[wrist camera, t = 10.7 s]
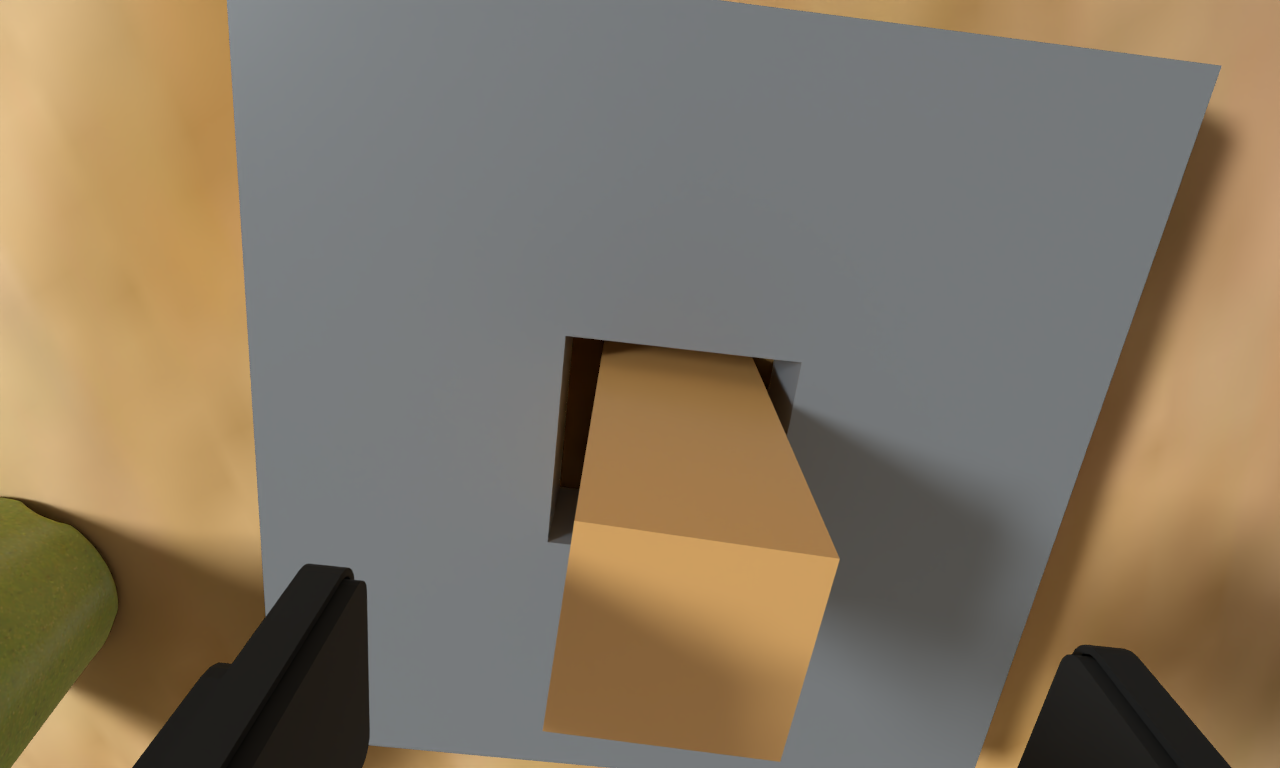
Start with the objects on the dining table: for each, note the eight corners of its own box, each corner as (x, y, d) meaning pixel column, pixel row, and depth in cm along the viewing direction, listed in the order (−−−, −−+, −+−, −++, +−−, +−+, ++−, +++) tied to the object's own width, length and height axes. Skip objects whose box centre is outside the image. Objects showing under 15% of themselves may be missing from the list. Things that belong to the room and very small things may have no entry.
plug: (605, 331, 21) (574, 521, 11) (750, 353, 21) (839, 559, 11) (585, 462, 22) (542, 730, 12) (721, 483, 22) (780, 761, 13)
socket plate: (290, -37, 18) (223, -65, 15) (1132, 72, 18) (1221, 65, 15) (315, 663, 24) (272, 736, 22) (927, 722, 25) (963, 800, 22)
